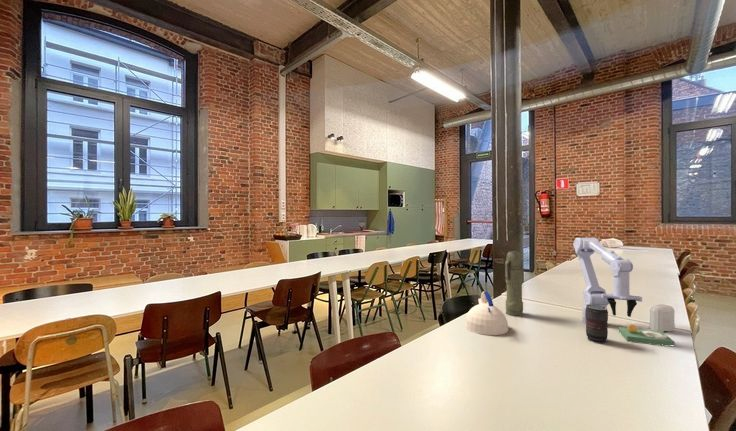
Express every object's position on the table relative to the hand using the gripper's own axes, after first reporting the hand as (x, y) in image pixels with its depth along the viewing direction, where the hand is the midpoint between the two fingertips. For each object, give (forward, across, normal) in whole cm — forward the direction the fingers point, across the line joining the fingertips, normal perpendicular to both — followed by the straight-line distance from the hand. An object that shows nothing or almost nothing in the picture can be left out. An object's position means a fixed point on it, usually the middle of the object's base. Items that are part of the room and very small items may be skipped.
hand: (621, 315), depth 148 cm
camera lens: (+10, -12, -10) cm, 18 cm away
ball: (+5, +4, 0) cm, 7 cm away
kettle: (+10, -58, -11) cm, 59 cm away
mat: (+9, +8, 0) cm, 13 cm away
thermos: (+10, -44, +17) cm, 49 cm away
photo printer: (+10, +20, +15) cm, 26 cm away
